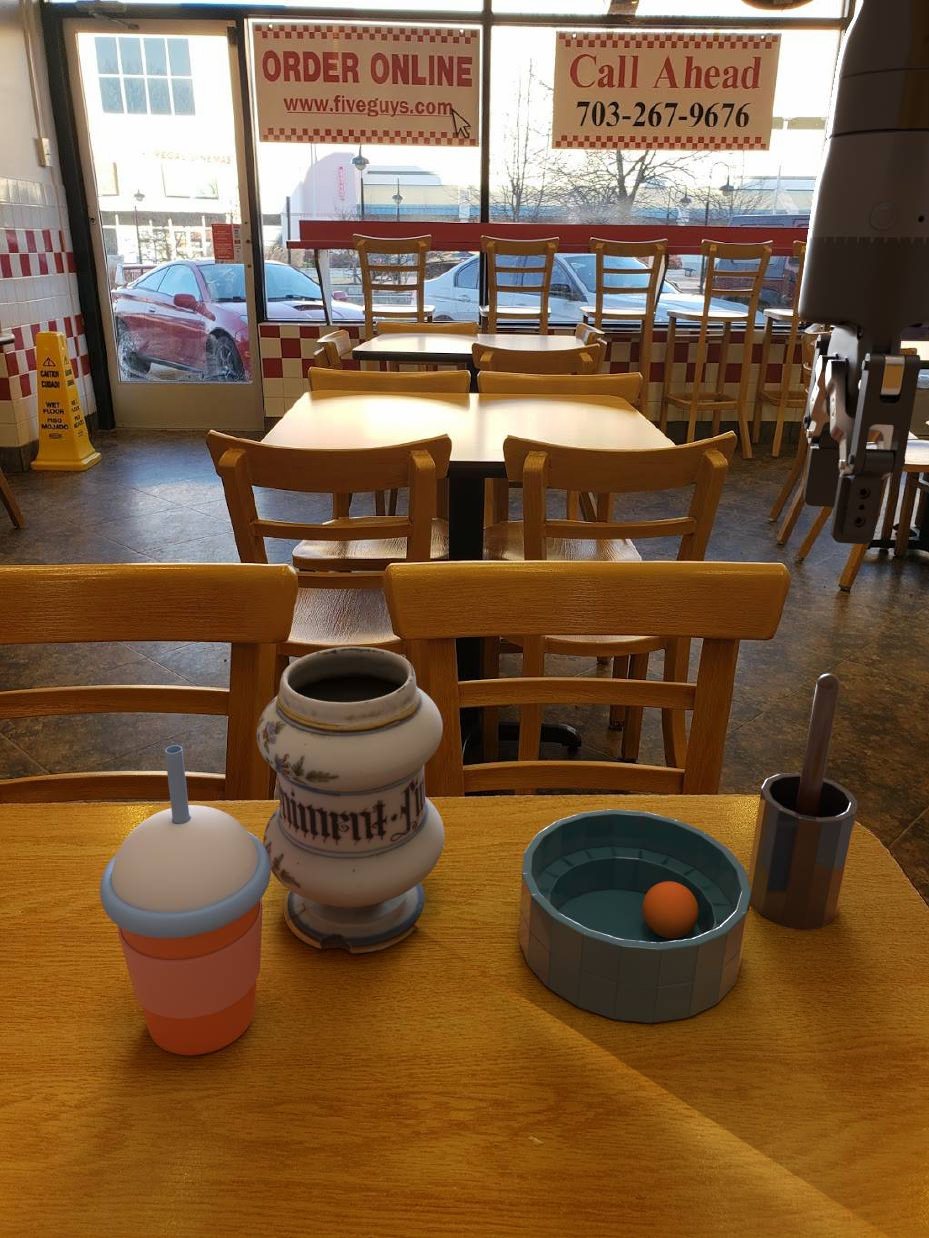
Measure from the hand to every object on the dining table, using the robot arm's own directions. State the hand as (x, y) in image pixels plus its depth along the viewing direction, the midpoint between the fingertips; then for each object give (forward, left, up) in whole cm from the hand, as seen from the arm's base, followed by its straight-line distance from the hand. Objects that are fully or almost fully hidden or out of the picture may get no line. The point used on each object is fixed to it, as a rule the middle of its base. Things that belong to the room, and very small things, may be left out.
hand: (834, 522), depth 57 cm
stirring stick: (0, +1, -27) cm, 27 cm away
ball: (+9, -3, -25) cm, 27 cm away
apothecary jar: (+21, -21, -28) cm, 41 cm away
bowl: (+11, -5, -28) cm, 30 cm away
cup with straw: (+34, -20, -28) cm, 48 cm away
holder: (0, +1, -28) cm, 28 cm away
